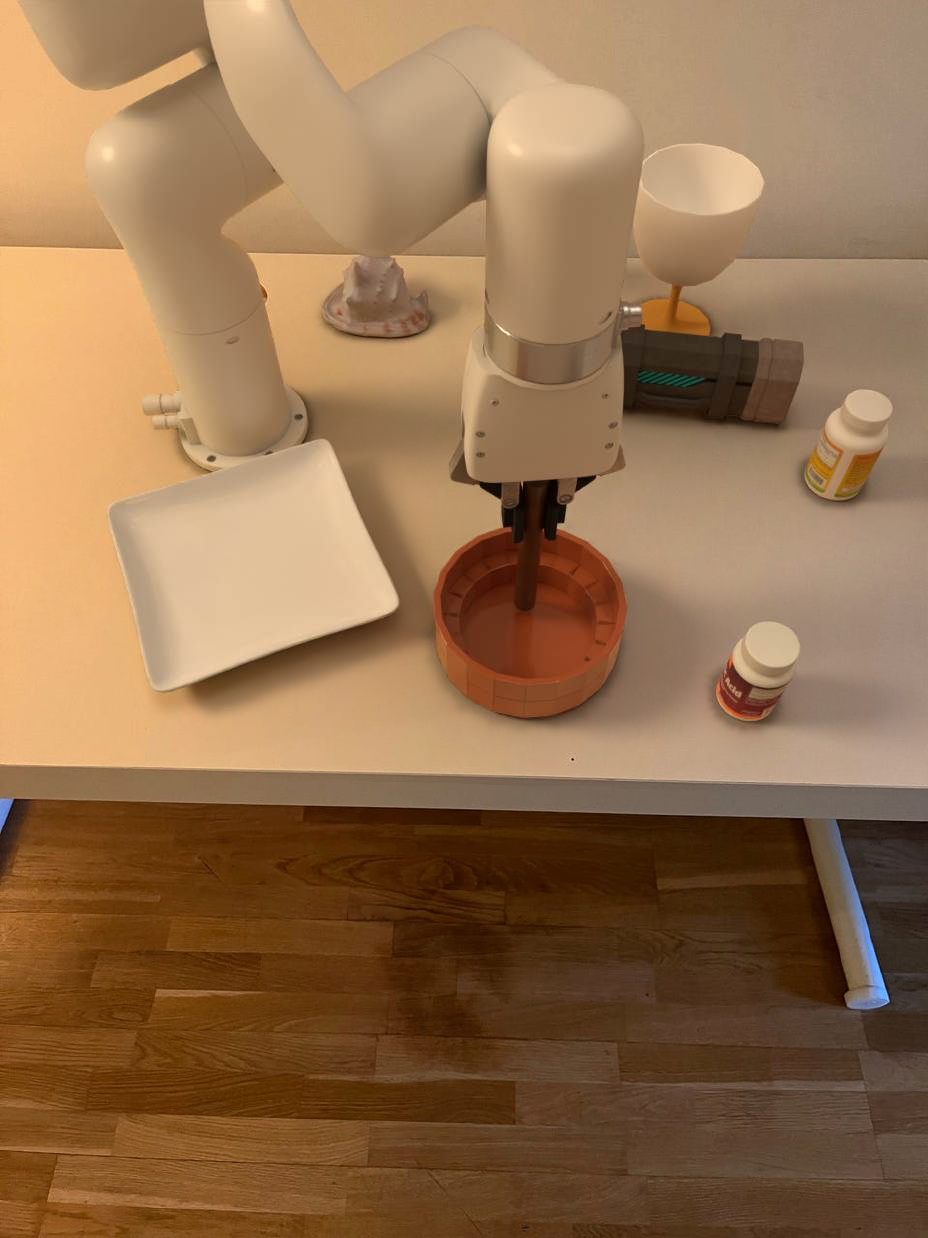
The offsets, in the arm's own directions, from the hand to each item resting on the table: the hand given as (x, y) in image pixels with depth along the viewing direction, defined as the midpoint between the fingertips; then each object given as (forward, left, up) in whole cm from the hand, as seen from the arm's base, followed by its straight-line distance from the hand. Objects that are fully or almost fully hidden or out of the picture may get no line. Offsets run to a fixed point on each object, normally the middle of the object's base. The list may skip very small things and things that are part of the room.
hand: (531, 525), depth 67 cm
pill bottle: (+17, -9, -13) cm, 23 cm away
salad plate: (-23, +6, -13) cm, 27 cm away
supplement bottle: (+31, +13, -13) cm, 36 cm away
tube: (+14, +25, -13) cm, 31 cm away
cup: (+20, +36, -13) cm, 43 cm away
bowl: (0, -2, -12) cm, 13 cm away
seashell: (-11, +42, -13) cm, 45 cm away
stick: (0, 0, -11) cm, 11 cm away
